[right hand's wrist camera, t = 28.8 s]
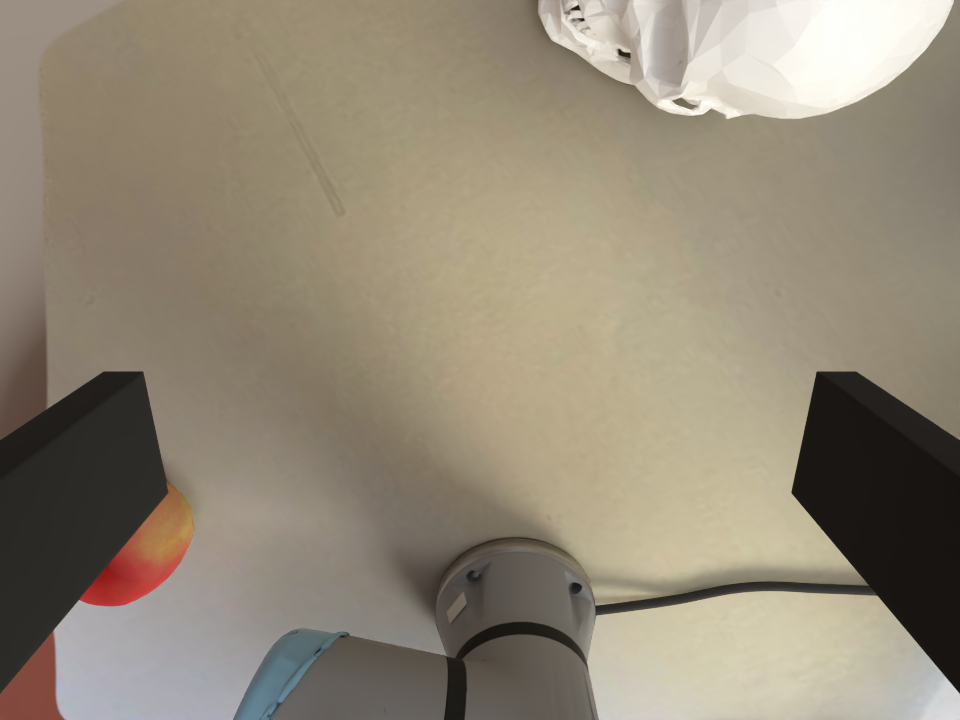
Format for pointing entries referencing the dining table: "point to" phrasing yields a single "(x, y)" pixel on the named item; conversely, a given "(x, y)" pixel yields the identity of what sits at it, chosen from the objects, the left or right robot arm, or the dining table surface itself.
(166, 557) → the apple
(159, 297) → the dining table surface
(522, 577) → the right robot arm
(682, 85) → the skull
